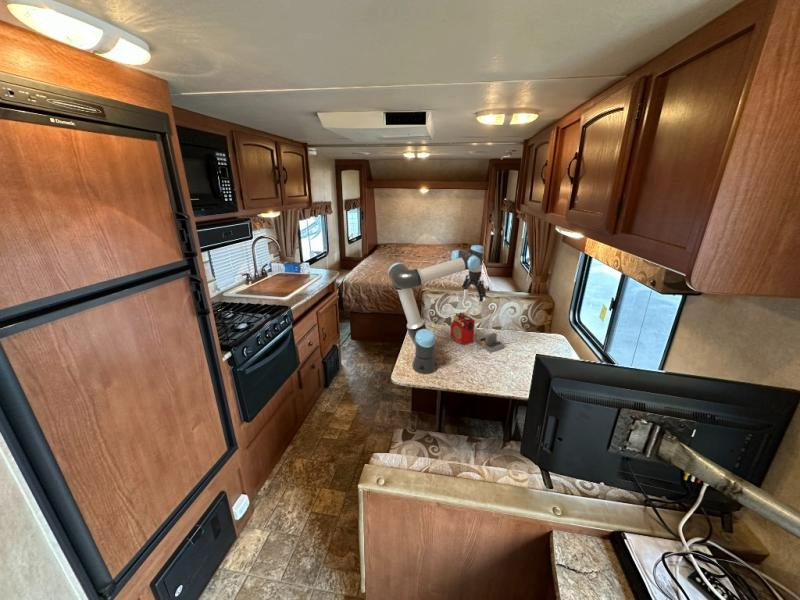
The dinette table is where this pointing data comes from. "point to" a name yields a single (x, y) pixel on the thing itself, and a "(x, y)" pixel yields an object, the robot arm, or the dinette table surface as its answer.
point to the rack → (490, 345)
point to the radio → (462, 328)
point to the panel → (490, 338)
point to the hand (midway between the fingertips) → (472, 302)
